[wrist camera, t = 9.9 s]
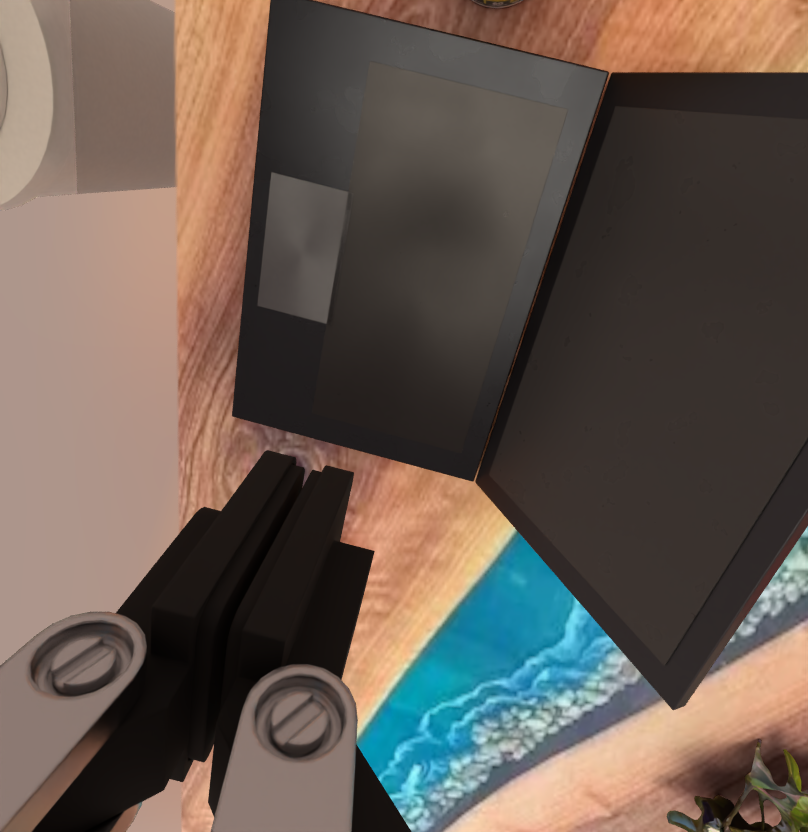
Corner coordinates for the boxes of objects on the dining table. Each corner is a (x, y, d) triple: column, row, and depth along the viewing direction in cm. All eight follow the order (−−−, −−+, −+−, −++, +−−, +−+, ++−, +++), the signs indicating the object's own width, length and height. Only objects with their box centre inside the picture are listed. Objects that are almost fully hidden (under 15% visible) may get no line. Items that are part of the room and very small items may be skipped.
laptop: (241, 407, 39) (230, 417, 37) (282, -2, 28) (270, -11, 27) (474, 470, 38) (473, 483, 37) (603, 76, 28) (610, 71, 26)
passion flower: (700, 737, 53) (648, 849, 46) (737, 675, 47) (683, 794, 39) (839, 831, 46) (802, 979, 39) (903, 775, 40) (874, 939, 33)
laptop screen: (671, 711, 24) (685, 706, 24) (1101, 70, 13) (1113, 80, 14) (473, 482, 37) (484, 481, 37) (609, 71, 26) (623, 76, 27)
